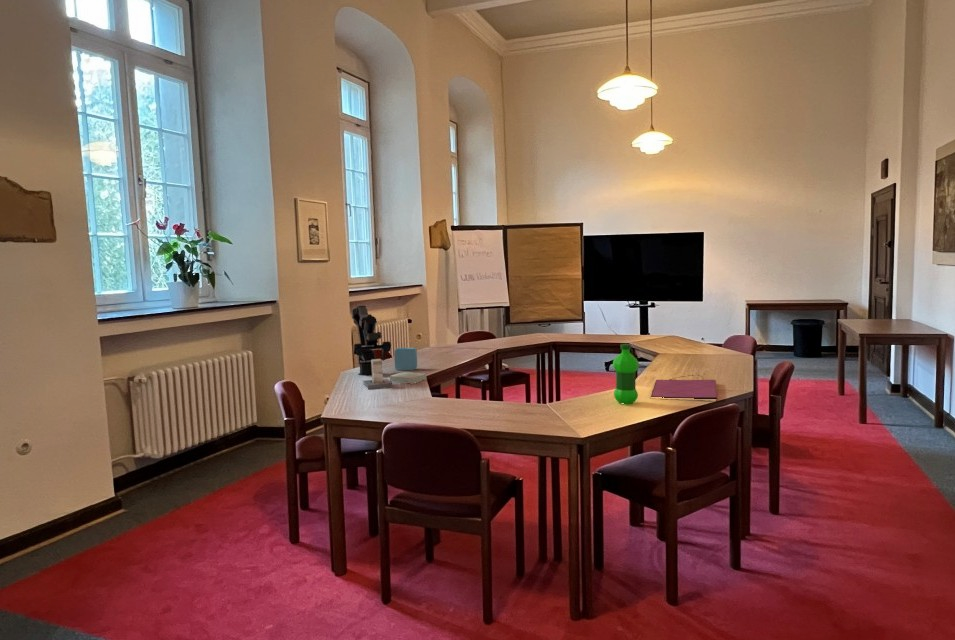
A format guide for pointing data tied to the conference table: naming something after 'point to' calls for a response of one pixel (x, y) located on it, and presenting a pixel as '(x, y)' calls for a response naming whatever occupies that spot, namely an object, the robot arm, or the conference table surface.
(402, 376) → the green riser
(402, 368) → the light blue square slab
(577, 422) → the conference table surface
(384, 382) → the pocket holder
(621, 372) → the plastic bottle
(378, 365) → the cream block
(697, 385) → the maroon hardcover notebook
